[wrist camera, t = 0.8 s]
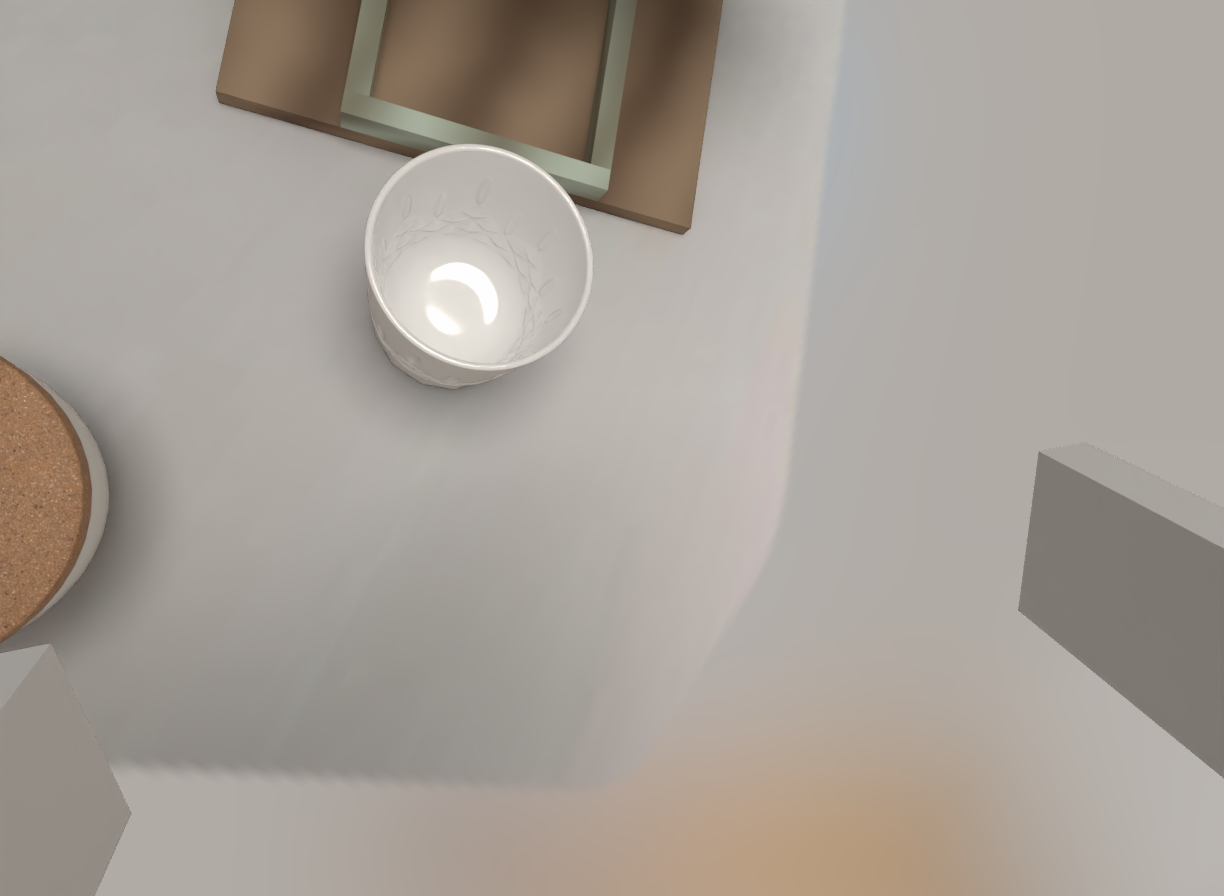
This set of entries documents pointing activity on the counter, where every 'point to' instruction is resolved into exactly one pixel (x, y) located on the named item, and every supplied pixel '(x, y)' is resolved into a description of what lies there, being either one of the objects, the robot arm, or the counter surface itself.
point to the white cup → (474, 265)
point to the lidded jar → (44, 498)
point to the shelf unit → (497, 85)
